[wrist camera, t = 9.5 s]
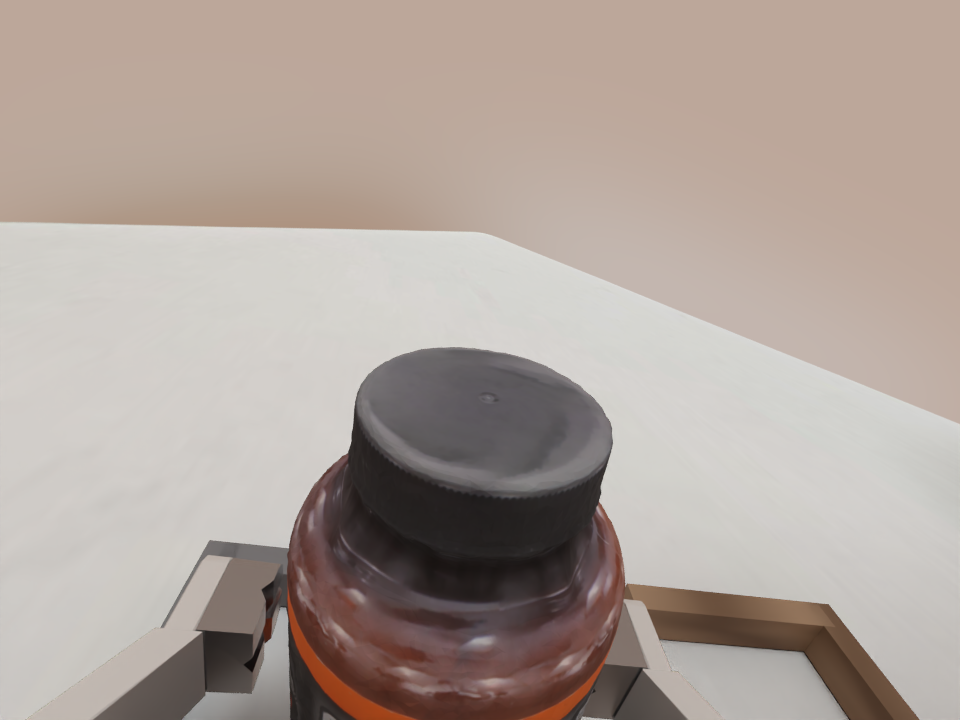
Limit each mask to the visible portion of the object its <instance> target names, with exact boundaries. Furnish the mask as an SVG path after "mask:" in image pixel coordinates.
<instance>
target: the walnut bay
mask: <svg viewBox="0 0 960 720" xmlns="http://www.w3.org/2000/svg"><path fill="white" fill-rule="evenodd" d="M624 599H628V600H637V601H642V602H643V603H644V605H645V606H646V608H647V611H648V613H649V616H650V618H651V621H652V623H653V626H654V628H655V631H656V633H657V635H658V638H659V639H666V640H677V641H689V642H700V643H712V644H724V645H735V646H747V647H758V648H770V649H781V650H793V651H804V652H805V653H806V655H807V656H808V658H809V659H810V661H811V662H812V664H813V665H814V667H815V668H816V670H817V671H818V673H819V674H820V676H821V677H822V679H823V680H824V682H825V683H826V685H827V686H828V688H829V689H830V691H831V692H832V694H833V695H834V697H835V698H836V700H837V701H838V703H839V704H840V706H841V707H842V708H843V710H844V711H845V713H846V714H847V716H848V717H849V719H850V720H919V719H918V717H917V716H916V715H915V714H914V712H913V711H912V710H911V708H910V707H909V706H908V705H907V703H906V702H905V701H904V700H903V698H902V697H901V696H900V695H899V693H898V692H897V691H896V689H895V688H894V687H893V686H892V684H891V683H890V682H889V681H888V679H887V678H886V677H885V675H884V674H883V673H882V672H881V670H880V669H879V668H878V667H877V665H876V664H875V663H874V662H873V660H872V659H871V658H870V656H869V655H868V654H867V653H866V651H865V650H864V649H863V648H862V646H861V645H860V644H859V642H858V641H857V640H856V639H855V637H854V636H853V635H852V634H851V632H850V631H849V630H848V629H847V627H846V626H845V625H844V623H843V622H842V621H841V620H840V618H839V617H838V616H837V615H836V613H835V612H834V611H833V610H832V608H831V607H830V606H829V604H819V603H810V602H800V601H790V600H781V599H771V598H761V597H752V596H742V595H732V594H723V593H713V592H703V591H694V590H684V589H675V588H665V587H655V586H646V585H636V584H627V585H626V587H625V595H624Z"/></svg>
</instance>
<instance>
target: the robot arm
mask: <svg viewBox="0 0 960 720" xmlns="http://www.w3.org/2000/svg"><path fill="white" fill-rule="evenodd" d="M282 577H283V564H277V563H269V562H262V561H254V560H247V559H239V558H231V557H222V556H213V555H207V556H206V557H205V558H204V559H203V560H202V561H201V563H200V565H199V567H198V568H197V570H196V572H195V574H194V575H193V577H192V579H191V581H190V582H189V584H188V586H187V588H186V589H185V591H184V593H183V595H182V597H181V598H180V600H179V602H178V604H177V605H176V607H175V609H174V611H173V612H172V614H171V616H170V618H169V619H168V621H167V623H166V625H165V626H164V628H154V629H153V630H151V631H150V632H149V633H147V634H146V635H144V636H143V637H141V638H140V639H139V640H137V641H136V642H134V643H133V644H132V645H130V646H129V647H127V648H126V649H125V650H123V651H122V652H120V653H119V654H117V655H116V656H115V657H113V658H112V659H110V660H109V661H108V662H106V663H105V664H103V665H102V666H100V667H99V668H98V669H96V670H95V671H93V672H92V673H91V674H89V675H88V676H86V677H85V678H84V679H82V680H81V681H79V682H78V683H76V684H75V685H74V686H72V687H71V688H69V689H68V690H67V691H65V692H64V693H62V694H61V695H60V696H58V697H57V698H55V699H54V700H52V701H51V702H50V703H48V704H47V705H45V706H44V707H43V708H41V709H40V710H38V711H37V712H35V713H34V714H33V715H31V716H30V717H28V718H27V719H26V720H181V719H182V718H183V717H184V716H185V715H186V714H187V713H188V712H189V711H190V710H191V709H192V708H193V707H194V706H195V705H196V704H197V703H198V702H199V701H200V700H201V699H202V698H203V697H204V696H205V692H221V693H246V694H252V691H253V689H254V686H255V683H256V680H257V677H258V674H259V672H260V669H261V666H262V663H263V660H264V644H265V643H266V642H267V641H268V640H270V639H271V637H272V634H273V631H274V628H275V625H276V622H277V618H278V614H279V610H280V604H281V598H282V589H281V588H280V587H279V585H280V582H281V579H282ZM582 717H591V718H601V719H611V720H725V719H724V718H723V717H722V716H721V715H720V714H719V713H718V712H717V711H716V710H715V709H714V708H713V707H712V706H711V705H710V704H709V703H708V702H707V701H706V700H705V699H704V698H703V697H702V696H701V695H700V694H699V693H698V692H697V691H696V690H695V689H694V688H693V686H692V685H691V684H690V683H689V682H688V681H687V680H686V679H685V678H684V677H683V676H682V675H681V674H680V673H679V672H676V671H672V670H671V667H670V665H669V662H668V660H667V658H666V655H665V653H664V650H663V648H662V645H661V643H660V640H659V638H658V635H657V633H656V631H655V628H654V626H653V623H652V621H651V618H650V616H649V613H648V611H647V608H646V606H645V605H644V603H643V602H642V601H637V600H628V599H624V601H623V606H622V611H621V616H620V620H619V624H618V628H617V632H616V635H615V637H614V640H613V643H612V646H611V648H610V651H609V653H608V656H607V658H606V660H605V663H604V665H603V669H602V671H601V673H600V675H599V678H598V680H597V682H596V684H595V687H594V689H593V691H592V694H591V696H590V698H589V701H588V703H587V705H586V708H585V710H584V713H583V715H582Z"/></svg>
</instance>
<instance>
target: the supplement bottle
mask: <svg viewBox="0 0 960 720" xmlns="http://www.w3.org/2000/svg"><path fill="white" fill-rule="evenodd" d="M612 445H613V439H612V427H611V424H610V421H609V419H608V418H607V417H606V415H605V413H604V411H603V409H602V407H601V406H600V405H599V404H598V403H597V402H596V400H595V399H594V398H593V397H592V396H591V395H589V394H588V393H587V392H585V391H584V390H583V389H582V387H581V386H579V385H578V384H576V383H574V382H572V381H571V380H570V379H569V378H567V377H565V376H563V375H561V374H559V373H557V372H555V371H554V370H552V369H550V368H548V367H547V366H544V365H542V364H539V363H536V362H533V361H531V360H529V359H525V358H522V357H518V356H515V355H511V354H506V353H500V352H493V351H489V350H480V349H475V348H460V347H450V348H431V349H421V350H417V351H414V352H411V353H406V354H403V355H400V356H397V357H395V358H393V359H391V360H390V361H387V362H385V363H383V364H381V365H380V366H379V367H377V368H376V369H374V370H373V371H372V372H371V373H370V374H369V375H368V376H367V377H366V379H365V380H364V381H363V383H362V384H361V386H360V388H359V391H358V393H357V397H356V401H355V409H354V423H353V430H352V442H351V446H350V449H349V451H348V454H346V455H344V456H342V457H341V458H340V459H339V460H338V461H337V462H336V463H334V464H333V465H332V466H331V467H330V468H329V469H327V471H326V472H325V473H324V474H323V476H322V477H321V478H320V479H319V481H317V482H316V483H315V484H314V486H313V488H312V490H311V491H310V493H309V495H308V497H307V498H306V500H305V502H304V504H303V506H302V508H301V510H300V512H299V514H298V516H297V519H296V521H295V524H294V528H293V531H292V535H291V540H290V544H289V551H288V553H287V558H288V565H287V583H288V596H287V605H286V608H287V614H288V620H289V622H288V635H289V644H288V646H289V663H290V668H289V679H290V718H291V720H581V717H582V715H583V713H584V710H585V708H586V705H587V703H588V701H589V698H590V696H591V694H592V691H593V689H594V687H595V684H596V682H597V680H598V678H599V675H600V673H601V671H602V669H603V665H604V663H605V660H606V658H607V656H608V653H609V651H610V648H611V646H612V643H613V640H614V637H615V635H616V632H617V628H618V624H619V620H620V616H621V611H622V606H623V601H624V595H625V573H624V564H623V558H622V553H621V548H620V545H619V541H618V538H617V535H616V533H615V530H614V527H613V525H612V522H611V520H610V519H609V518H608V516H607V514H606V512H605V510H604V509H603V507H602V505H601V504H600V503H599V498H600V495H601V489H600V486H601V483H602V480H603V476H604V473H605V470H606V467H607V463H608V460H609V457H610V453H611V449H612Z"/></svg>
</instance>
